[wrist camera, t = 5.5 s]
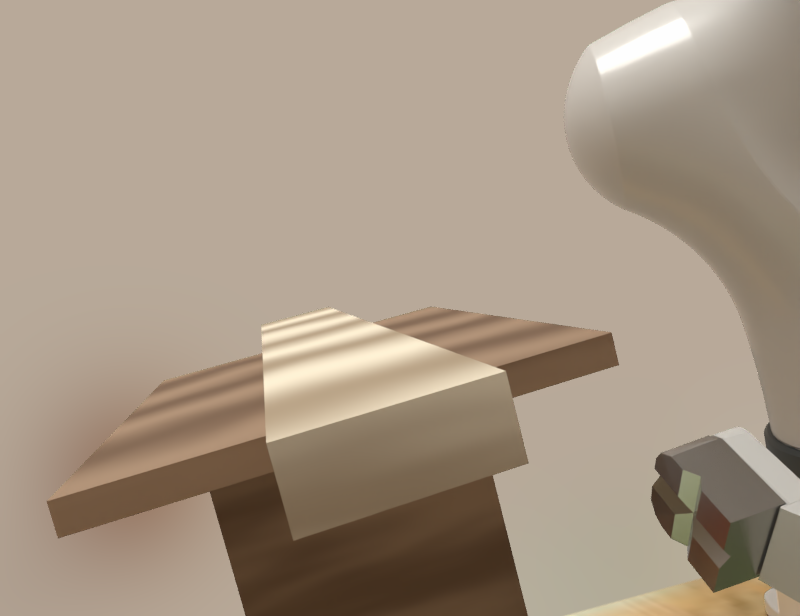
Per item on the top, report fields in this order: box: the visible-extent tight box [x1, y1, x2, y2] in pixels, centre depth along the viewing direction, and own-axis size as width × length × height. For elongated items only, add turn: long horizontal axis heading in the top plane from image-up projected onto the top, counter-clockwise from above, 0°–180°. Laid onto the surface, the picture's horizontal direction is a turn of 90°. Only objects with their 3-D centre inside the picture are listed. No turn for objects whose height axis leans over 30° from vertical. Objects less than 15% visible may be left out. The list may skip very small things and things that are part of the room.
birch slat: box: [261, 307, 528, 541], centre depth 26 cm, size 30×4×2 cm, turn 12°
